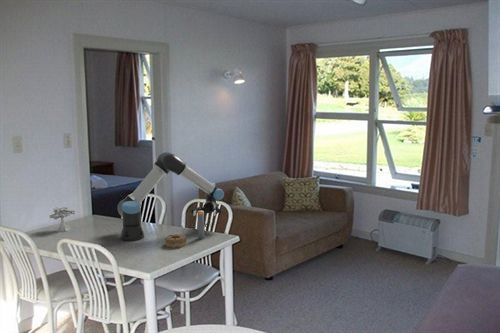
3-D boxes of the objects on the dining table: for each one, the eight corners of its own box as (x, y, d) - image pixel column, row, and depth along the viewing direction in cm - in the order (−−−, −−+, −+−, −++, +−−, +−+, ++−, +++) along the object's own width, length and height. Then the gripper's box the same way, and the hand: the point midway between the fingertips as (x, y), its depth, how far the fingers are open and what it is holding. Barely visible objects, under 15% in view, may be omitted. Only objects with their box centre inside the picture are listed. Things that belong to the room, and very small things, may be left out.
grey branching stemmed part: (51, 234, 328) (49, 210, 326) (47, 229, 342) (45, 206, 340) (78, 231, 337) (77, 207, 335) (74, 226, 351) (72, 203, 349)
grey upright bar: (197, 237, 316) (196, 210, 314) (203, 237, 318) (202, 210, 315) (199, 239, 312) (198, 212, 310) (205, 238, 314) (204, 211, 312)
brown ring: (163, 243, 304) (163, 235, 303) (182, 241, 309) (182, 233, 308) (169, 248, 293) (168, 240, 292) (188, 246, 298) (187, 238, 297)
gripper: (226, 212, 344) (222, 219, 323) (191, 212, 345) (185, 219, 324) (226, 201, 343) (222, 208, 322) (191, 202, 344) (185, 208, 323)
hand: (204, 214), depth 323 cm, fingers open, 13 cm apart
